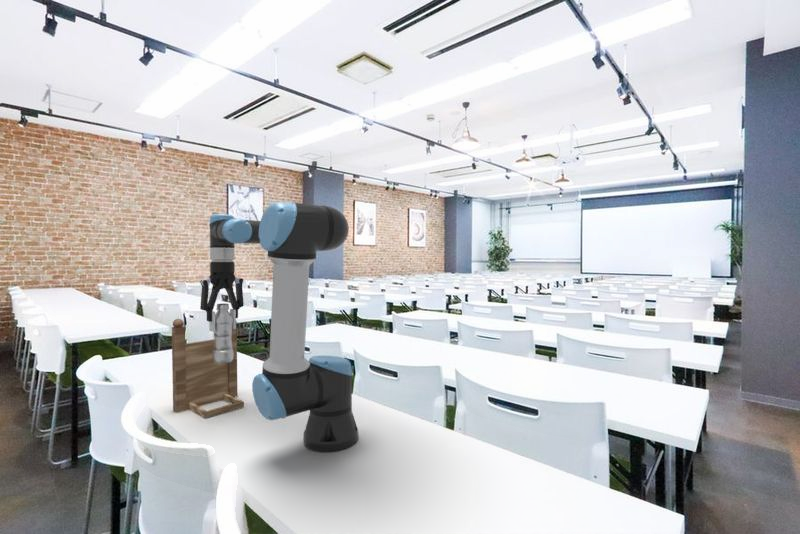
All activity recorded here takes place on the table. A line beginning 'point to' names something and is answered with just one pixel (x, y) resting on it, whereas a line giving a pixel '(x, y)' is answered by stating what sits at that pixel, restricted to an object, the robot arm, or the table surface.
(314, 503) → the table surface
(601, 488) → the table surface
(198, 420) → the table surface
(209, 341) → the headboard holder
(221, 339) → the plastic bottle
